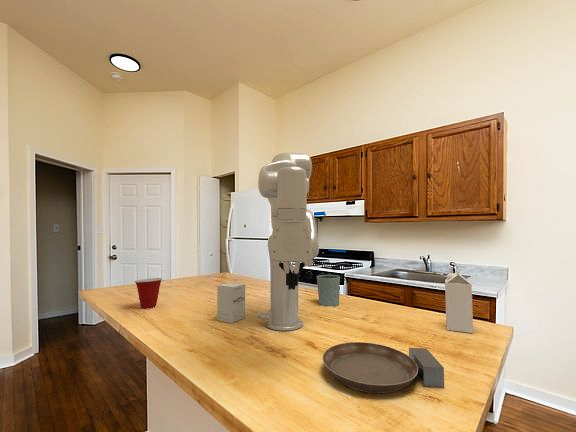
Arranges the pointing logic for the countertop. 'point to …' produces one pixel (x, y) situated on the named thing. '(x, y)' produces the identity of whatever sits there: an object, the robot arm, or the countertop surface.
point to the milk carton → (458, 303)
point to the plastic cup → (148, 291)
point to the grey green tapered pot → (328, 290)
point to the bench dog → (427, 367)
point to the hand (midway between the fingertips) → (292, 288)
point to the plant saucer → (370, 367)
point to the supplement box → (230, 302)
